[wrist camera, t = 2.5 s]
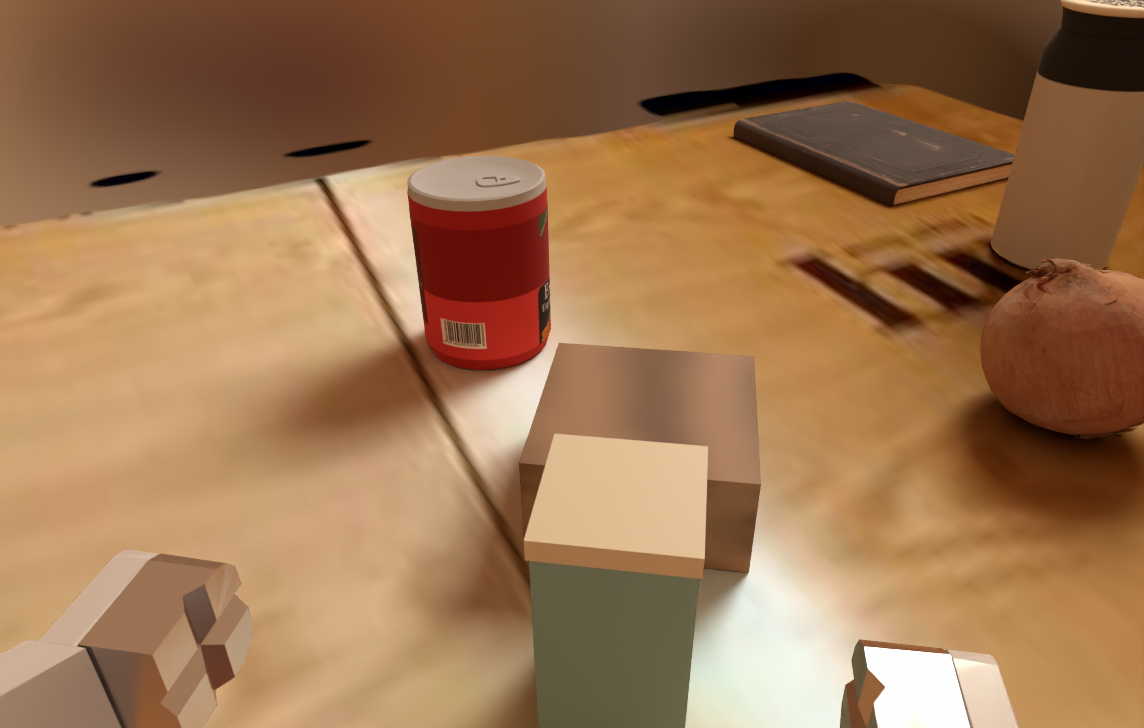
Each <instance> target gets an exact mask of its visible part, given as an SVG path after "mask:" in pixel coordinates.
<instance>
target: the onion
mask: <svg viewBox="0 0 1144 728" xmlns="http://www.w3.org/2000/svg"><path fill="white" fill-rule="evenodd" d="M1039 262H1046V263H1045V264H1044V265H1043V266H1037V267H1035V268H1033V269H1031V270H1030V271H1029V272H1026V273H1027V274H1030V275H1031V277H1029V278H1028V279H1027V280H1025V281H1024V282H1022V283H1020V284H1019V285H1017V286H1015V287H1014V288H1013V289H1011V290H1010V291H1009V292H1008V293H1006V294H1005V295H1004V296H1003V297H1002V298H1001V299H1000V300H999V302H998V303H997V304H996V305H995V306H994V308H993V309H992V311H991V312H990V314H989V316H988V318H987V321H986V323H985V326H984V329H983V333H982V338H981V350H980V351H981V361H982V368H983V371H984V374H985V377H986V380H987V382H988V385H989V387H990V389H991V391H992V392H993V394H994V395H995V396H996V398H997V399H998V400H999V401H1000V402H1001V404H1002V405H1003V406H1004V407H1005V409H1006V410H1008V411H1009V412H1011V413H1012V414H1014V415H1016V416H1018V417H1020V418H1022V419H1024V420H1026V421H1027V422H1029V423H1032V424H1034V425H1037V426H1040V427H1043V428H1046V429H1048V430H1052V431H1056V432H1062V433H1065V434H1070V435H1073V436H1077V437H1075V438H1081V439H1089V438H1092V439H1094V438H1099V437H1109V438H1106V439H1105V440H1108V439H1110V438H1112V437H1114V436H1122V435H1117V434H1119V433H1123V432H1128V431H1133V429H1136V428H1133V429H1130V428H1131V427H1135V426H1138V425H1141V424H1143V423H1144V279H1142V278H1141V277H1139V276H1135V275H1132V274H1128V273H1125V272H1119V271H1111V270H1096V269H1094V268H1093V267H1092V264H1081V263H1079V262H1077V261H1074V260H1066V259H1059V258H1057V259H1048V260H1042V261H1039ZM1076 434H1078V435H1076Z"/></svg>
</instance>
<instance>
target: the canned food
mask: <svg viewBox="0 0 1144 728" xmlns="http://www.w3.org/2000/svg"><path fill="white" fill-rule="evenodd" d="M408 200H409V211H410V219H411V227H412V234H413V242H414V250H415V257H416V265H417V273H418V281H419V288H420V296H421V304H422V312H423V319H424V327H425V335H426V339H427V342H428V344H429V346H430V348H431V350H432V351H433V353H434V354H435V355H436V356H437V357H438V358H439V359H441V360H442V361H444V362H446V363H448V364H450V365H453V366H457V367H460V368H466V369H474V370H491V369H500V368H506V367H510V366H514V365H517V364H520V363H522V362H525V361H527V360H529V359H530V358H532V357H534V356H536V355H537V354H538V353H539V352H540V351H542V349H543V348H544V347H545V345H546V342H547V339H548V336H549V333H550V330H551V318H550V280H549V243H548V205H547V186H546V180H545V172H544V171H543V170H542V168H540V167H539V166H537V165H535V164H533V163H530V162H528V161H524V160H521V159H516V158H510V157H502V156H469V157H460V158H453V159H448V160H444V161H439V162H436V163H433V164H430V165H427V166H425V167H423V168H421V169H419V170H417V171H416V172H414V173H413V174H412V175H411V176H410V177H409V179H408Z"/></svg>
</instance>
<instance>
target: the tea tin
mask: <svg viewBox="0 0 1144 728" xmlns="http://www.w3.org/2000/svg"><path fill="white" fill-rule="evenodd" d="M707 468H708V446H698V445H686V444H674V443H662V442H650V441H638V440H626V439H614V438H602V437H590V436H578V435H566V434H554V437H553V440H552V444H551V447H550V451H549V454H548V458H547V461H546V465H545V468H544V472H543V475H542V479H541V482H540V486H539V489H538V493H537V496H536V499H535V503H534V506H533V510H532V513H531V517H530V520H529V524H528V527H527V531H526V534H525V538H524V554H525V561H529V570H530V587H531V605H532V623H533V641H534V658H535V676H536V694H537V712H538V728H685V722H686V711H687V701H688V690H689V680H690V669H691V659H692V648H693V638H694V627H695V616H696V606H697V595H698V585H699V579H703V571H704V561H705V533H706V500H707Z"/></svg>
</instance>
